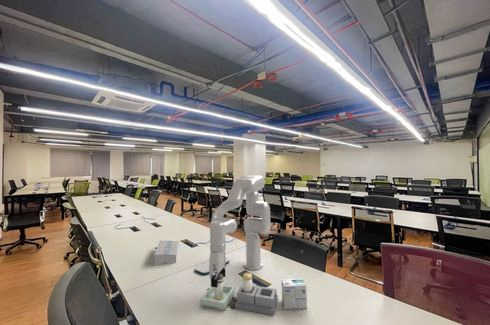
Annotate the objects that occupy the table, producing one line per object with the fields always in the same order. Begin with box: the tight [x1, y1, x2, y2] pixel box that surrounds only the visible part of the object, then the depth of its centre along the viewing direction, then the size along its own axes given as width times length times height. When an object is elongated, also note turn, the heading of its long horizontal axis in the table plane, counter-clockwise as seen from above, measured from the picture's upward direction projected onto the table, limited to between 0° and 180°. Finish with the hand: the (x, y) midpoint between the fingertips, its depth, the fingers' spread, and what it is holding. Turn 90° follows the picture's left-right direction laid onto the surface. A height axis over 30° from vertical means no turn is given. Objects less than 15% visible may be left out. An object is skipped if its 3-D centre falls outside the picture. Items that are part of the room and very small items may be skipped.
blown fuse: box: [213, 273, 224, 300], centre depth 106 cm, size 4×4×11 cm
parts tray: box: [200, 284, 236, 312], centre depth 106 cm, size 14×12×4 cm
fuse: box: [242, 272, 253, 294], centre depth 104 cm, size 4×4×11 cm
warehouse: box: [153, 240, 179, 266], centre depth 162 cm, size 30×14×8 cm, turn 14°
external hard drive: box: [194, 258, 230, 276], centre depth 142 cm, size 24×12×2 cm, turn 142°
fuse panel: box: [234, 283, 279, 316], centre depth 102 cm, size 12×18×6 cm, turn 73°
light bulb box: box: [280, 277, 308, 310], centre depth 101 cm, size 11×7×11 cm, turn 92°
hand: (218, 281), depth 106 cm, fingers open, 9 cm apart
